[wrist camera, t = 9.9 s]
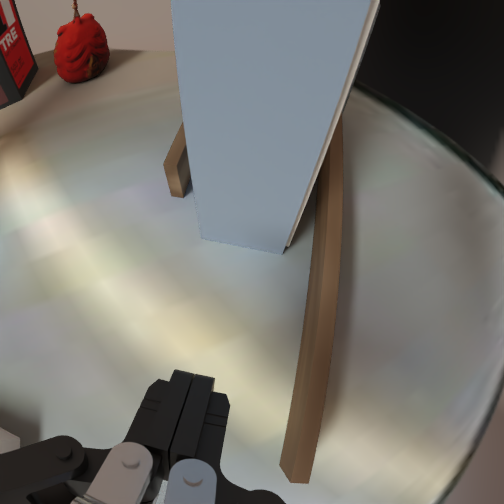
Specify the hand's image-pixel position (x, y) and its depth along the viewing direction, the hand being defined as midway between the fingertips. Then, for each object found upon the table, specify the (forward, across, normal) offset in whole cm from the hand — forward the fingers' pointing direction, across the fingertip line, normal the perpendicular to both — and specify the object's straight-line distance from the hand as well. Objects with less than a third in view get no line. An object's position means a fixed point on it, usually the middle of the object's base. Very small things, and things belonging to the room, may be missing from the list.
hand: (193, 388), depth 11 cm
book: (+18, 0, -6) cm, 19 cm away
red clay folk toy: (+28, +25, -16) cm, 41 cm away
